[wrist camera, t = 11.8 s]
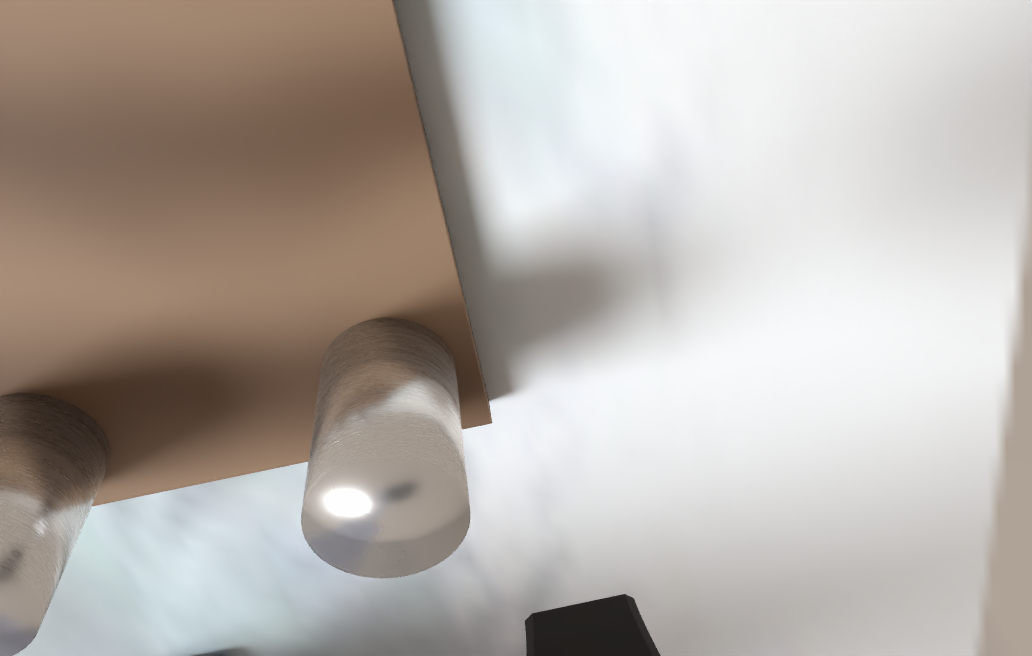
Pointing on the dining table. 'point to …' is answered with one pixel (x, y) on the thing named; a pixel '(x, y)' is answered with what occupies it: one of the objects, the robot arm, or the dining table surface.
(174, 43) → the spacer board
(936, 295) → the dining table surface
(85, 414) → the steel spacers
